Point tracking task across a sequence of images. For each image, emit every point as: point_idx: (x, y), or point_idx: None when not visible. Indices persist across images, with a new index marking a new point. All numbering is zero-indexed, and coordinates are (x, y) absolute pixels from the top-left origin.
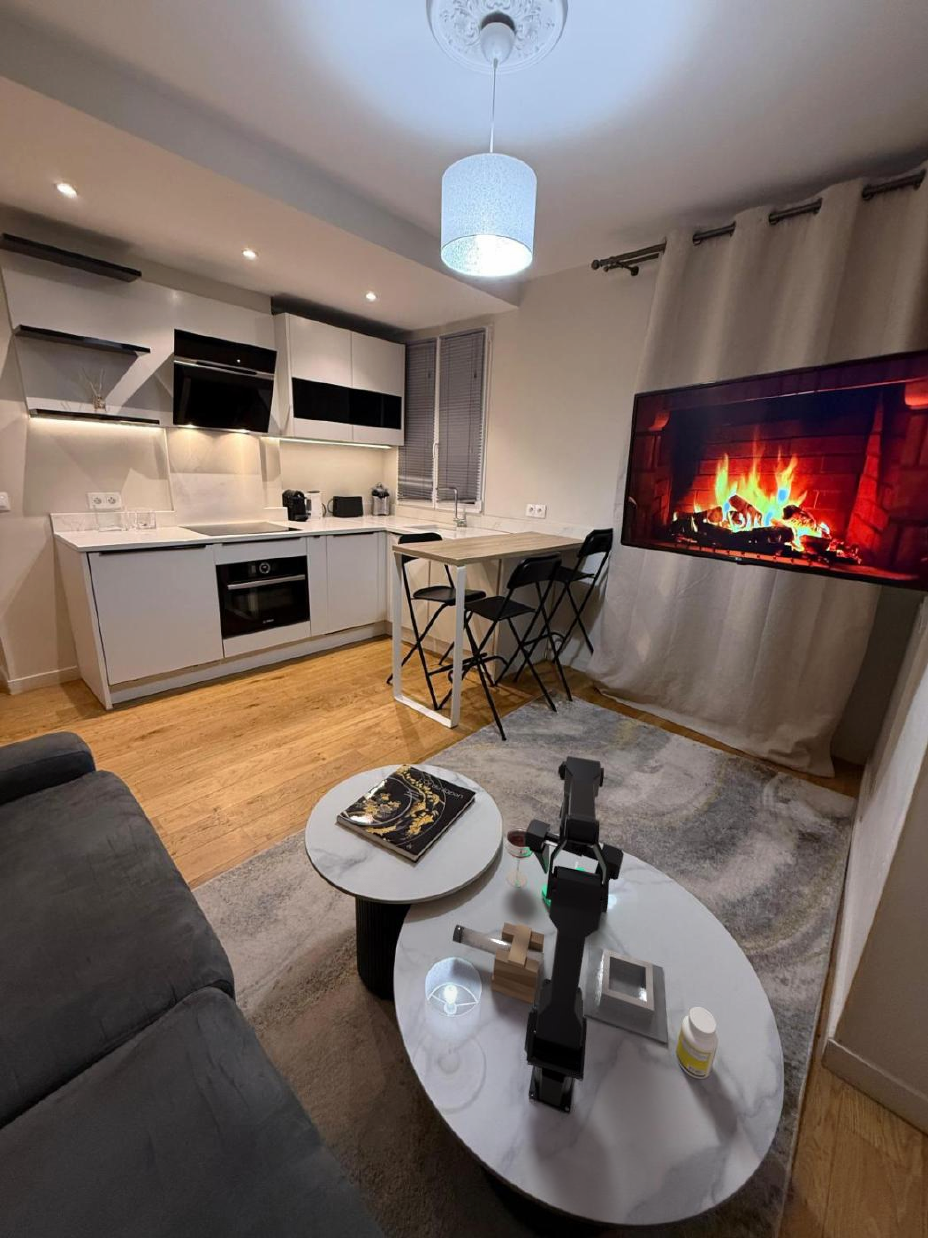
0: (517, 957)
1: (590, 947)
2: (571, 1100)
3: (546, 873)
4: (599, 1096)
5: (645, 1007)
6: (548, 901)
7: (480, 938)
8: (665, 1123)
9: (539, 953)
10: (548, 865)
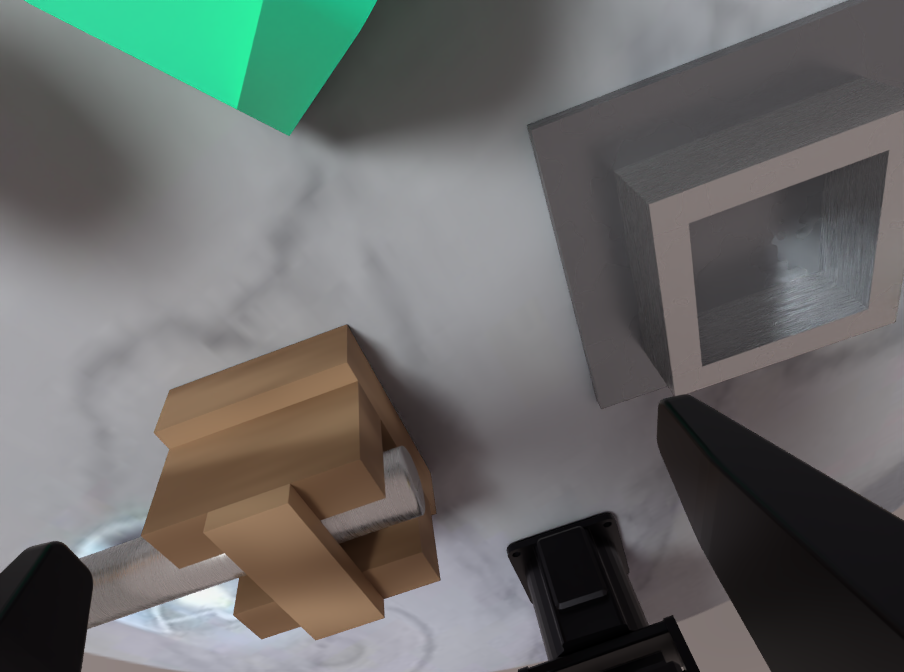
0: (341, 619)
1: (538, 146)
2: (626, 560)
3: (89, 605)
4: (683, 508)
5: (860, 333)
6: (144, 57)
7: (132, 612)
8: (845, 456)
9: (392, 508)
10: (10, 655)
